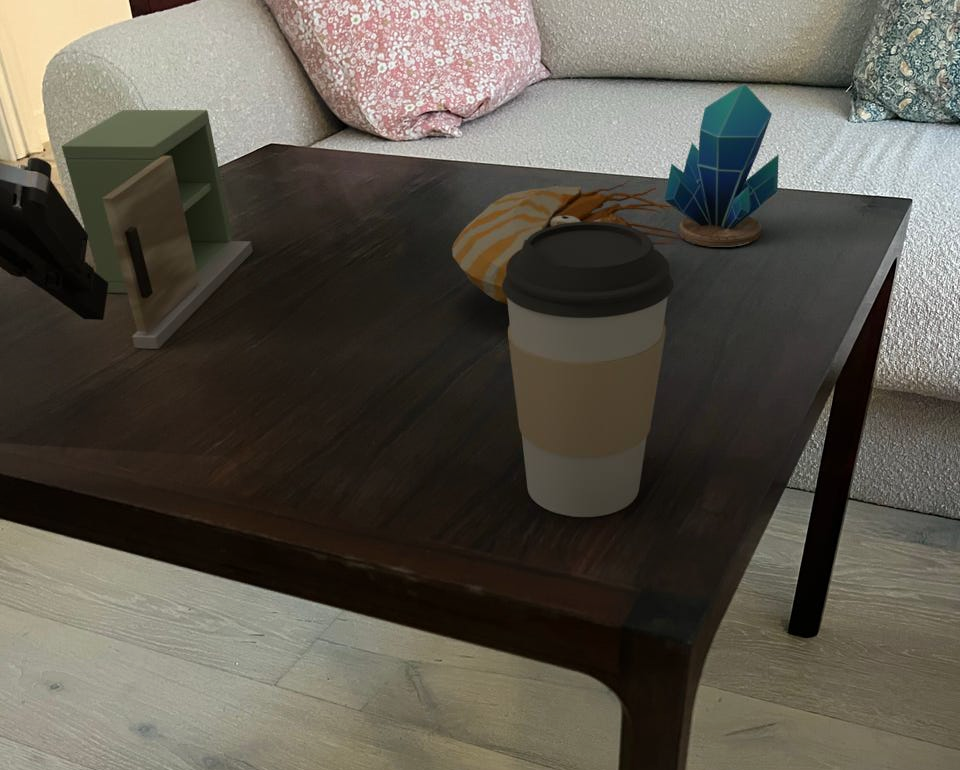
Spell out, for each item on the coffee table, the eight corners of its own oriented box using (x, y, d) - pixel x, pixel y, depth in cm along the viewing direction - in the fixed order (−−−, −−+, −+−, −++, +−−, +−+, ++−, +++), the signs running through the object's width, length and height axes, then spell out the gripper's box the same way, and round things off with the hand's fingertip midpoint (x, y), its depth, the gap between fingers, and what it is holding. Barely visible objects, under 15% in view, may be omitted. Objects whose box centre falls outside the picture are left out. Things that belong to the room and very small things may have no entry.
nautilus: (638, 245, 96) (733, 310, 85) (419, 277, 88) (495, 352, 78) (650, 153, 90) (753, 211, 80) (418, 179, 83) (500, 246, 73)
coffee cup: (620, 437, 68) (631, 197, 58) (684, 507, 61) (709, 250, 52) (488, 465, 66) (477, 221, 56) (539, 541, 59) (537, 279, 50)
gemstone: (691, 215, 100) (702, 75, 92) (777, 230, 95) (797, 84, 88) (654, 240, 95) (663, 94, 87) (743, 256, 91) (761, 105, 83)
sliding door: (137, 331, 81) (101, 198, 75) (190, 280, 89) (162, 155, 83) (153, 332, 81) (118, 198, 75) (204, 281, 89) (177, 155, 82)
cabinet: (41, 344, 83) (-11, 187, 76) (155, 247, 99) (122, 109, 92) (158, 349, 82) (117, 188, 74) (255, 250, 98) (229, 109, 90)
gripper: (-29, 29, 50) (188, 252, 74) (-261, 32, 53) (20, 247, 76) (-51, 179, 50) (174, 356, 73) (-285, 175, 52) (6, 348, 75)
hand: (96, 300), depth 74 cm, fingers closed
